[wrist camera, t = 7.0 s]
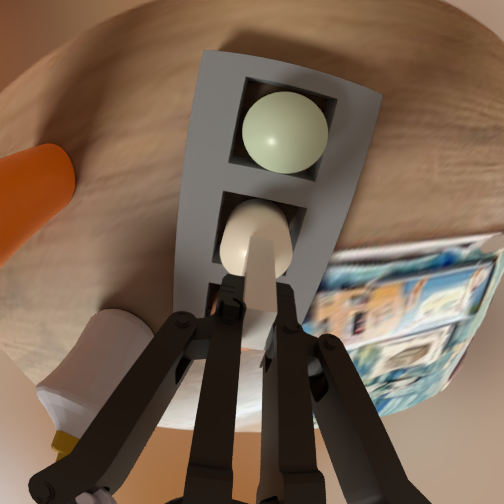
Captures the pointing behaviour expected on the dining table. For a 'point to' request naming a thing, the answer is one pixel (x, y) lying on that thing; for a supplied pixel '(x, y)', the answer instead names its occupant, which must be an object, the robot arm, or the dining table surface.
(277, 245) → the cream egg
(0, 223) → the shaker bottle
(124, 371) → the soap bottle
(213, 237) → the panel
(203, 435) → the robot arm
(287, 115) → the pale green rounded knob
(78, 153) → the dining table surface
